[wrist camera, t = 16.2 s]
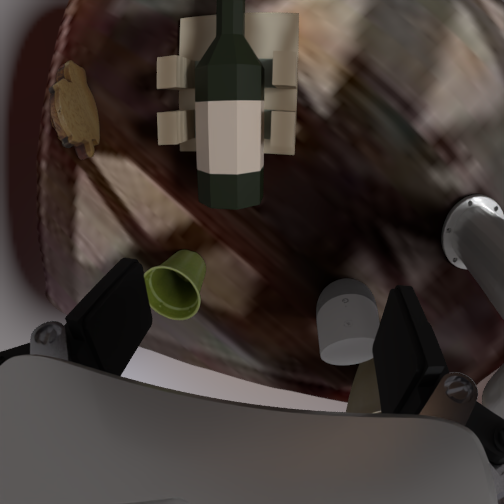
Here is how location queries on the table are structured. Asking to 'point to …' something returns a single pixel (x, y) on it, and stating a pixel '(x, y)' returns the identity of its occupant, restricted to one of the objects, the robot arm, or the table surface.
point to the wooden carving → (74, 110)
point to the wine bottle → (230, 115)
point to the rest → (275, 86)
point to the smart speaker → (346, 322)
